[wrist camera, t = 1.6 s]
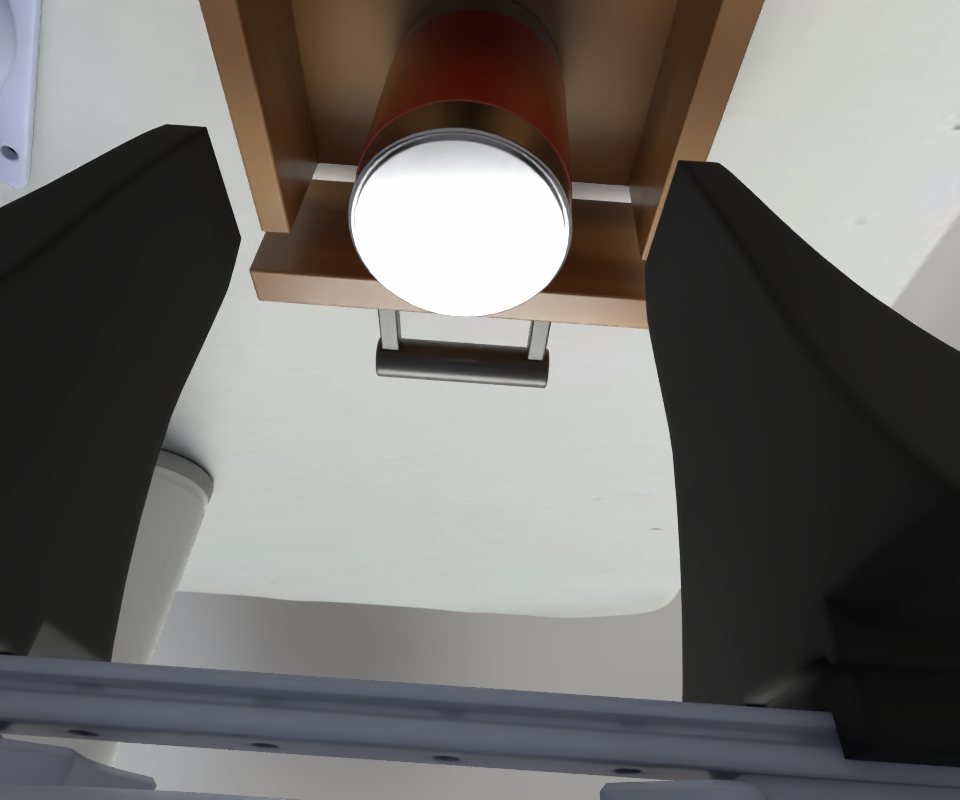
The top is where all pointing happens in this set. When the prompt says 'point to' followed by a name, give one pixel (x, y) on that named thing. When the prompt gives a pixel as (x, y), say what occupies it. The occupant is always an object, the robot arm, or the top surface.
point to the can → (467, 163)
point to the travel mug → (151, 575)
